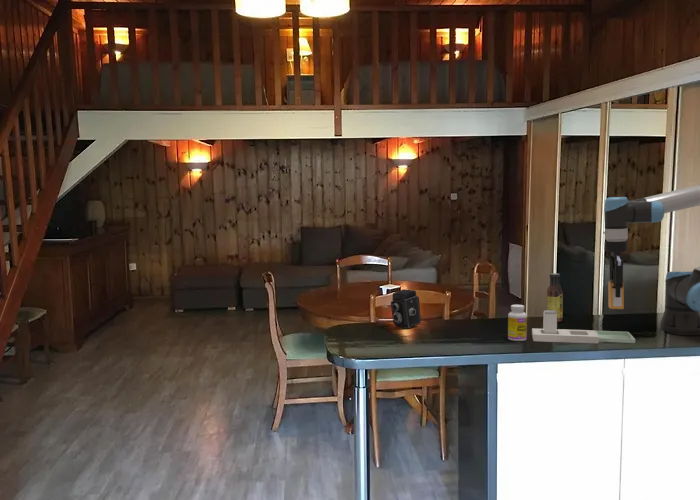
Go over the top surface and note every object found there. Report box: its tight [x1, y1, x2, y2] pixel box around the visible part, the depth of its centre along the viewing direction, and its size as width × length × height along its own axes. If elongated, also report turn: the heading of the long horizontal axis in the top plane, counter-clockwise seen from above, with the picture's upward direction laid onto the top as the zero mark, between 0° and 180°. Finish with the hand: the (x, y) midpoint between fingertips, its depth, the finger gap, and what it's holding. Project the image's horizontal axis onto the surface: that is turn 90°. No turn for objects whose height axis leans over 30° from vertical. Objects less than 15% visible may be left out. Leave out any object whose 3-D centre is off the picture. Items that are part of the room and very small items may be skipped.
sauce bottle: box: [546, 272, 564, 323], centre depth 253 cm, size 7×6×20 cm
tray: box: [595, 330, 636, 344], centre depth 221 cm, size 12×12×2 cm
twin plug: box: [542, 309, 558, 334], centre depth 222 cm, size 4×4×10 cm
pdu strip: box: [531, 327, 600, 344], centre depth 221 cm, size 22×10×3 cm, turn 76°
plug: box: [607, 279, 625, 310], centre depth 219 cm, size 4×4×10 cm
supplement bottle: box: [507, 304, 528, 342], centre depth 223 cm, size 7×7×13 cm
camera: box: [390, 289, 422, 329], centre depth 248 cm, size 11×11×15 cm
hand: (616, 304), depth 220 cm, fingers closed on plug, 4 cm apart
